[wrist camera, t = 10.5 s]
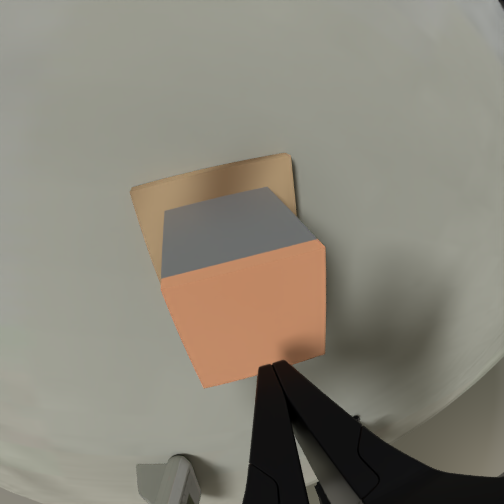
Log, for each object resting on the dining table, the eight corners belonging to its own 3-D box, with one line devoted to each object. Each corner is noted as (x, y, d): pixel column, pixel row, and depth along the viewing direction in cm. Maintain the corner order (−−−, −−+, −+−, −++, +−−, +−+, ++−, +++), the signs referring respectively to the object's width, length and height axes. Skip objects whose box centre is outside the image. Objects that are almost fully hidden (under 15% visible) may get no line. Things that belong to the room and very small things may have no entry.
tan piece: (285, 152, 15) (339, 183, 10) (297, 278, 19) (337, 340, 14) (131, 187, 14) (110, 237, 9) (173, 310, 18) (179, 384, 13)
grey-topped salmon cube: (267, 186, 15) (325, 247, 9) (278, 271, 18) (324, 353, 12) (164, 210, 14) (160, 289, 9) (190, 294, 17) (204, 388, 11)
